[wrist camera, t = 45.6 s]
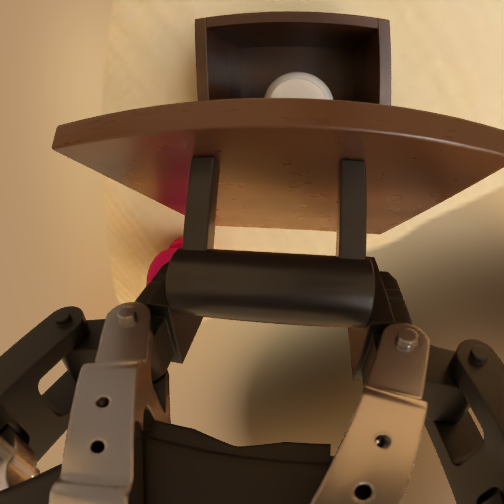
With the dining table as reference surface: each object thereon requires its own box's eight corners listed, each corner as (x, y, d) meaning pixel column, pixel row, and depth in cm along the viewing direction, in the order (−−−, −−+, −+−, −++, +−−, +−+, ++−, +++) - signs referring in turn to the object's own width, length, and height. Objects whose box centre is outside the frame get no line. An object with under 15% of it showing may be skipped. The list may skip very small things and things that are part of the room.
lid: (56, 125, 7) (31, 299, 7) (512, 131, 5) (520, 337, 5) (205, 214, 22) (200, 285, 22) (380, 223, 20) (377, 296, 20)
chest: (233, 42, 26) (194, 19, 16) (360, 44, 24) (389, 19, 14) (238, 176, 33) (206, 217, 23) (356, 181, 31) (379, 226, 21)
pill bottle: (332, 82, 26) (344, 77, 17) (323, 134, 28) (330, 152, 20) (276, 72, 26) (263, 62, 18) (268, 124, 29) (252, 137, 20)
